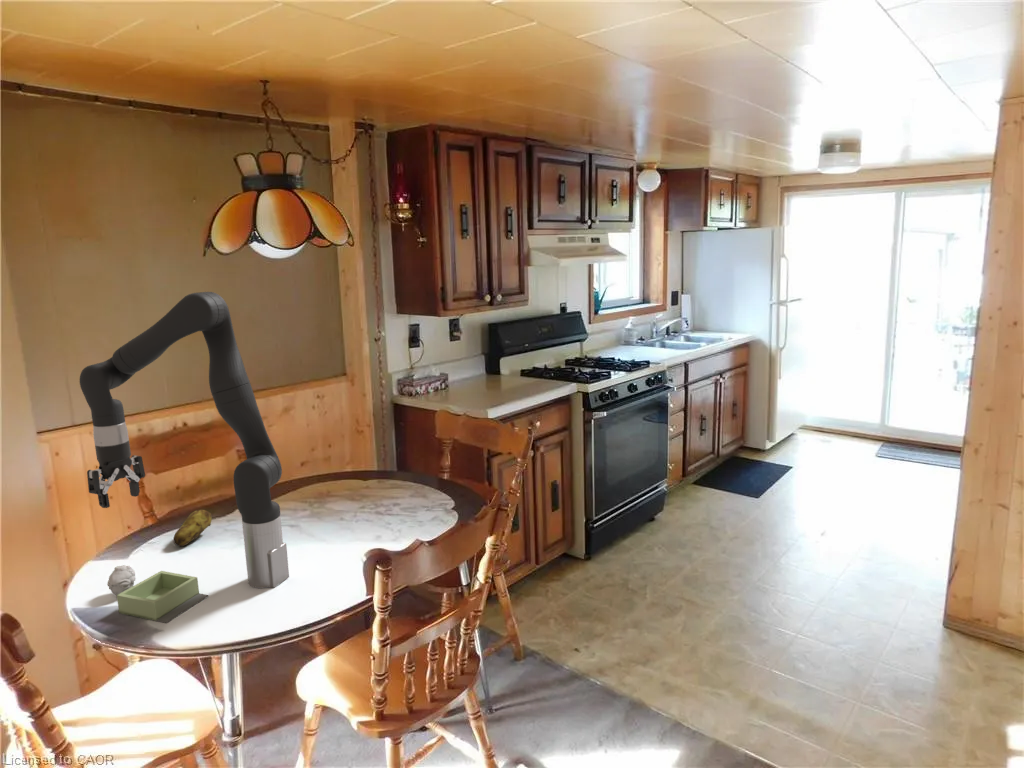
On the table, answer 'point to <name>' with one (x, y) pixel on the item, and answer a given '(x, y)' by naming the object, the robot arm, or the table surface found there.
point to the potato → (192, 527)
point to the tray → (160, 597)
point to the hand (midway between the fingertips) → (120, 501)
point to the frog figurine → (121, 579)
